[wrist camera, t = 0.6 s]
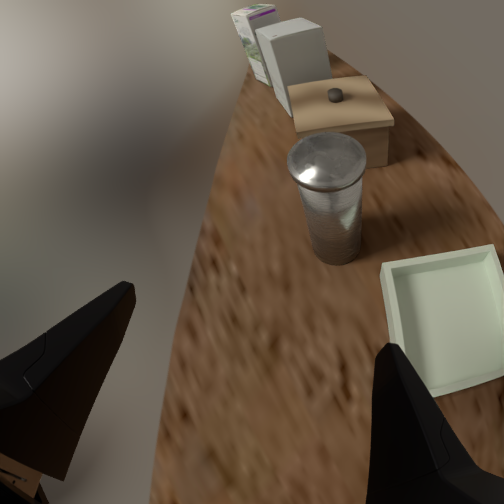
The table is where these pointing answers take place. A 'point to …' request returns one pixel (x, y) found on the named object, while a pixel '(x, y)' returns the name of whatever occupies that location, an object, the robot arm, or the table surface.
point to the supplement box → (294, 55)
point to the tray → (448, 316)
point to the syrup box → (246, 26)
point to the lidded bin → (344, 113)
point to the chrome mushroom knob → (330, 192)
